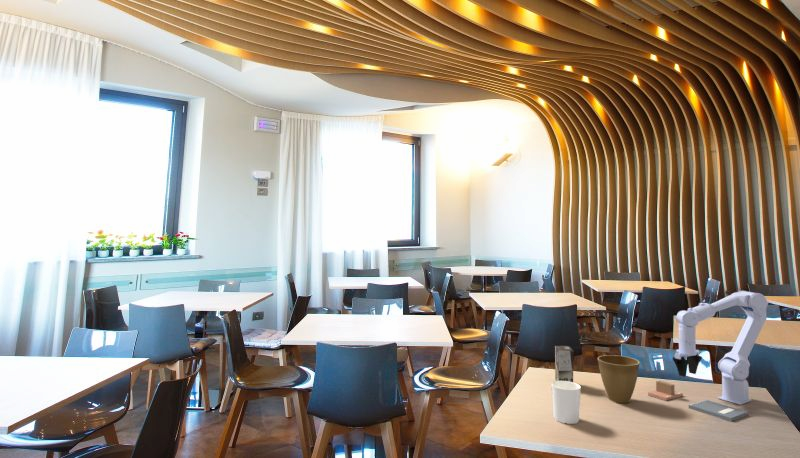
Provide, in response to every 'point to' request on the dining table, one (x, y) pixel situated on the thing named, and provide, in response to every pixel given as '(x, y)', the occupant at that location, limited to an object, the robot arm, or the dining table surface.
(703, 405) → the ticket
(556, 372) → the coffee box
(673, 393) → the stub
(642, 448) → the dining table surface
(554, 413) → the candle holder
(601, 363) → the plant pot
